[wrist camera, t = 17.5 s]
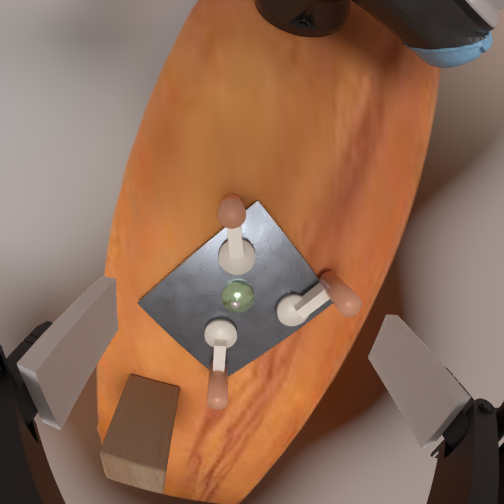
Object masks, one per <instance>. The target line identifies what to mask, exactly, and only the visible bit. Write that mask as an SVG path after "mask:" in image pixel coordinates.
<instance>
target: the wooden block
mask: <svg viewBox="0 0 504 504" xmlns="http://www.w3.org/2000/svg"><path fill="white" fill-rule="evenodd" d="M179 392H180V388H179V387H178V386H173V385H169V384H165V383H161V382H158V381H154V380H150V379H147V378H143V377H140V376H136V375H133V374H131V375H130V376H129V379H128V381H127V383H126V386H125V388H124V391H123V393H122V395H121V398H120V400H119V403H118V405H117V408H116V410H115V413H114V415H113V418H112V421H111V423H110V426H109V428H108V431H107V434H106V436H105V439H104V442H103V445H102V447H101V450H100V456H101V459H102V463H103V467H104V470H105V474H106V477H107V478H109V479H112V480H115V481H118V482H121V483H124V484H128V485H131V486H134V487H138V488H142V489H146V490H150V491H154V492H158V493H163V492H164V485H165V477H166V470H167V463H168V457H169V450H170V444H171V438H172V432H173V426H174V420H175V414H176V409H177V403H178V398H179Z"/></svg>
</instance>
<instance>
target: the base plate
mask: <svg viewBox="0 0 504 504" xmlns="http://www.w3.org/2000/svg"><path fill="white" fill-rule="evenodd" d="M241 233H242V238H243V239H245V240H247V241H248V242H249V243H250V244H251V245H252V246H253V248H254V251H255V256H256V258H255V263H254V265H253V267H252V268H251V269H250V270H249V271H248V272H246V273H244V274H241V275H233V274H230V273H228V272H226V271H225V270H224V269H223V268H222V267H221V265H220V262H219V251H220V248H221V246H222V245H223V244H224V243H225V242H226V241H227V240H228V236H227V228H226V227H224V228H222V229H221V230H220V231H219V232H218V233H216V234H215V235H214V236H213V237H212V238H210V239H209V240H208V241H207V242H206V243H204V244H203V245H202V246H201V247H200V248H198V249H197V250H196V251H195V252H194V253H193V254H191V255H190V256H189V257H188V258H187V259H186V260H184V261H183V262H182V263H181V264H180V265H179V266H177V267H176V268H175V269H174V270H173V271H172V272H170V273H169V274H168V275H167V276H166V277H165V278H164V279H162V280H161V281H160V282H159V283H158V284H157V285H156V286H154V287H153V288H152V289H151V290H150V291H149V292H148V293H147V294H145V295H144V296H143V297H142V298H141V299H140V300H139V301H138V304H139V305H140V306H141V307H142V308H143V309H144V310H145V311H146V312H147V313H148V314H149V315H150V316H151V317H152V318H153V319H154V320H155V321H156V322H157V323H158V324H159V325H160V326H161V327H162V328H163V329H164V330H165V331H166V332H167V333H168V334H169V335H170V336H171V337H172V338H174V339H175V340H176V341H177V342H178V343H179V344H180V345H181V346H182V347H183V348H185V349H186V350H187V351H188V352H189V353H190V354H191V355H192V356H194V357H195V358H196V359H197V360H198V361H199V362H200V363H202V364H203V365H204V366H205V367H206V368H208V369H209V368H210V363H211V362H212V361H213V358H214V348H213V347H211V346H210V345H209V344H208V343H207V342H206V340H205V337H204V334H205V328H206V326H207V324H208V323H209V322H210V321H212V320H214V319H219V318H221V319H226V320H229V321H231V322H232V323H233V324H234V325H235V327H236V330H237V339H236V342H235V343H234V344H233V345H232V346H231V347H229V348H226V355H225V362H226V363H227V377H228V376H230V375H231V374H233V373H234V372H236V371H238V370H239V369H241V368H242V367H244V366H245V365H247V364H248V363H250V362H251V361H253V360H255V359H256V358H258V357H259V356H261V355H262V354H264V353H265V352H266V351H268V350H269V349H271V348H272V347H274V346H275V345H277V344H278V343H280V342H281V341H282V340H284V339H285V338H287V337H288V336H290V335H291V334H292V333H294V332H295V331H296V330H298V329H299V328H301V327H302V326H303V325H305V324H306V323H307V322H309V321H310V320H311V319H313V318H314V317H315V316H317V315H318V314H319V313H321V312H322V311H323V310H325V309H326V308H327V307H328V306H330V305H331V304H332V303H333V302H332V301H331V299H329V300H328V301H326V302H325V303H324V304H323V305H321V306H320V307H319V308H317V309H316V310H315V311H313V312H312V313H311V314H309V316H308V318H307V319H306V320H305V321H304V322H303V323H301V324H299V325H297V326H287V325H284V324H283V323H281V322H280V320H279V319H278V316H277V312H276V307H277V304H278V302H279V301H280V300H281V299H282V298H283V297H284V296H286V295H289V294H299V295H301V296H303V295H304V294H305V293H307V292H308V291H309V290H311V289H312V288H313V287H314V286H316V285H317V284H318V283H319V278H318V277H317V276H316V274H315V273H314V272H313V270H312V269H311V268H310V266H309V265H308V264H307V263H306V261H305V260H304V259H303V257H302V256H301V255H300V253H299V252H298V251H297V250H296V248H295V247H294V246H293V244H292V243H291V242H290V241H289V239H288V238H287V237H286V235H285V234H284V233H283V232H282V230H281V229H280V228H279V227H278V225H277V224H276V223H275V221H274V220H273V219H272V218H271V216H270V215H269V214H268V213H267V211H266V210H265V209H264V208H263V206H262V205H261V204H260V203H259V202H258V200H257V201H256V202H254V203H253V204H252V205H251V206H249V207H248V208H247V209H246V219H245V222H244V223H243V224H242V225H241Z"/></svg>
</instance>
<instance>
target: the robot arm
mask: <svg viewBox="0 0 504 504" xmlns="http://www.w3.org/2000/svg"><path fill="white" fill-rule="evenodd" d="M352 1H353V2H355V3H356V4H357V5H359V6H360V7H361V8H363V9H364V10H365V11H367V12H368V13H369V14H371V15H372V16H373V17H375V18H376V19H377V20H378V21H379V22H381V23H382V24H383V25H384V26H386V27H387V28H388V29H389V30H390V31H391V32H392V33H394V34H395V35H396V36H397V37H398V38H399V39H400V40H401V41H402V42H403V44H404V45H405V46H406V47H408V48H409V49H411V50H413V51H414V52H415V53H416V54H417V55H418V56H419V57H420V58H421V59H422V60H423V61H424V62H426V63H427V64H429V65H432V66H435V67H439V68H449V67H455V66H459V65H463V64H465V63H468V62H470V61H473V60H475V59H476V58H478V57H479V56H480V53H484V52H486V51H487V50H488V49H489V48H490V46H491V45H492V42H493V38H492V35H491V32H490V31H491V30H493V29H494V28H496V27H497V13H498V11H499V10H501V9H503V8H504V0H352ZM255 4H256V7H257V9H258V11H259V12H260V13H261V15H262V16H263V17H264V18H265V19H266V20H267V21H268V22H270V23H271V24H273V25H274V26H276V27H278V28H279V29H281V30H284V31H286V32H289V33H292V34H295V35H300V36H307V37H319V36H325V35H329V34H331V33H333V32H335V31H337V30H338V29H339V28H340V27H341V26H342V25H343V23H344V22H345V21H346V19H347V17H348V15H349V7H350V0H255ZM117 331H118V318H117V299H116V279H114V278H109V277H104V276H101V277H100V278H99V279H98V280H97V281H96V282H95V283H93V284H92V285H91V286H90V287H89V288H88V289H87V290H86V291H85V292H84V293H83V294H82V295H81V296H80V297H79V298H78V299H77V300H76V301H75V302H74V303H73V304H72V305H71V306H70V307H68V308H67V310H66V311H65V312H64V313H63V314H62V315H61V316H60V317H59V318H58V319H57V320H56V321H55V322H54V323H52V322H49V321H47V322H45V323H43V324H41V325H39V326H37V327H36V328H35V329H34V330H33V331H32V332H31V333H30V335H28V336H27V337H26V338H25V339H24V341H22V342H21V343H20V345H19V346H18V347H17V348H16V349H15V350H14V351H13V352H12V353H11V354H10V355H9V356H8V358H7V359H6V357H5V355H4V352H3V349H2V346H1V345H0V504H65V501H64V500H63V497H62V495H61V493H60V491H59V488H58V486H57V484H56V481H55V479H54V477H53V474H52V472H51V469H50V466H49V463H48V461H47V458H46V455H45V452H44V449H43V446H42V442H41V439H40V436H39V432H38V428H37V425H36V422H35V420H34V417H35V416H36V414H37V412H38V413H39V415H40V417H41V419H42V421H43V422H44V423H46V424H48V425H50V426H53V427H55V428H57V429H59V430H61V429H62V427H63V425H64V423H65V421H66V419H67V417H68V415H69V413H70V411H71V410H72V407H73V406H74V404H75V402H76V400H77V398H78V397H79V395H80V393H81V391H82V389H83V387H84V386H85V384H86V382H87V380H88V379H89V377H90V375H91V373H92V372H93V370H94V368H95V367H96V365H97V363H98V362H99V360H100V358H101V357H102V355H103V353H104V352H105V350H106V348H107V347H108V345H109V344H110V342H111V340H112V339H113V337H114V335H115V334H116V332H117ZM368 359H369V360H370V362H371V363H372V365H373V367H374V368H375V370H376V372H377V373H378V375H379V376H380V378H381V380H382V381H383V383H384V385H385V386H386V388H387V390H388V391H389V393H390V395H391V396H392V398H393V400H394V401H395V403H396V404H397V406H398V408H399V410H400V411H401V413H402V415H403V417H404V418H405V420H406V421H407V423H408V425H409V427H410V429H411V430H412V432H413V434H414V435H415V437H416V439H417V441H418V443H419V444H420V446H421V448H423V447H426V446H429V445H432V444H434V443H435V442H436V441H437V440H438V439H439V437H440V436H441V435H443V437H444V438H445V439H444V440H443V441H442V442H441V443H440V444H439V446H438V447H437V448H436V449H435V450H434V451H433V452H432V453H431V456H433V455H434V454H435V453H436V452H439V454H438V455H436V457H435V458H438V460H437V465H436V470H435V474H434V478H433V482H432V486H431V490H430V494H429V497H428V502H427V504H504V443H503V444H502V445H501V446H500V447H499V445H498V442H499V441H500V440H501V439H502V438H503V436H504V402H503V403H502V405H501V406H500V407H499V408H494V407H493V405H492V404H491V403H489V402H488V401H487V400H484V399H476V400H474V399H473V398H472V397H471V396H470V394H469V393H468V392H467V391H466V389H465V388H464V387H463V386H462V385H461V384H460V382H458V380H457V379H456V378H455V377H454V376H453V374H452V373H451V372H450V371H449V370H448V368H446V367H445V366H444V365H443V364H442V363H441V362H440V361H439V360H438V358H437V357H436V356H435V355H434V354H433V353H432V352H431V351H430V350H429V349H428V347H427V346H426V345H425V344H424V343H423V342H422V341H421V340H420V339H419V338H418V337H417V336H416V335H415V333H414V332H413V331H412V330H411V329H410V328H409V327H408V326H407V325H406V324H405V323H404V322H403V321H402V320H401V319H400V318H399V317H398V315H386V317H385V319H384V322H383V324H382V326H381V329H380V331H379V334H378V336H377V338H376V341H375V343H374V345H373V347H372V350H371V352H370V354H369V356H368Z"/></svg>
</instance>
